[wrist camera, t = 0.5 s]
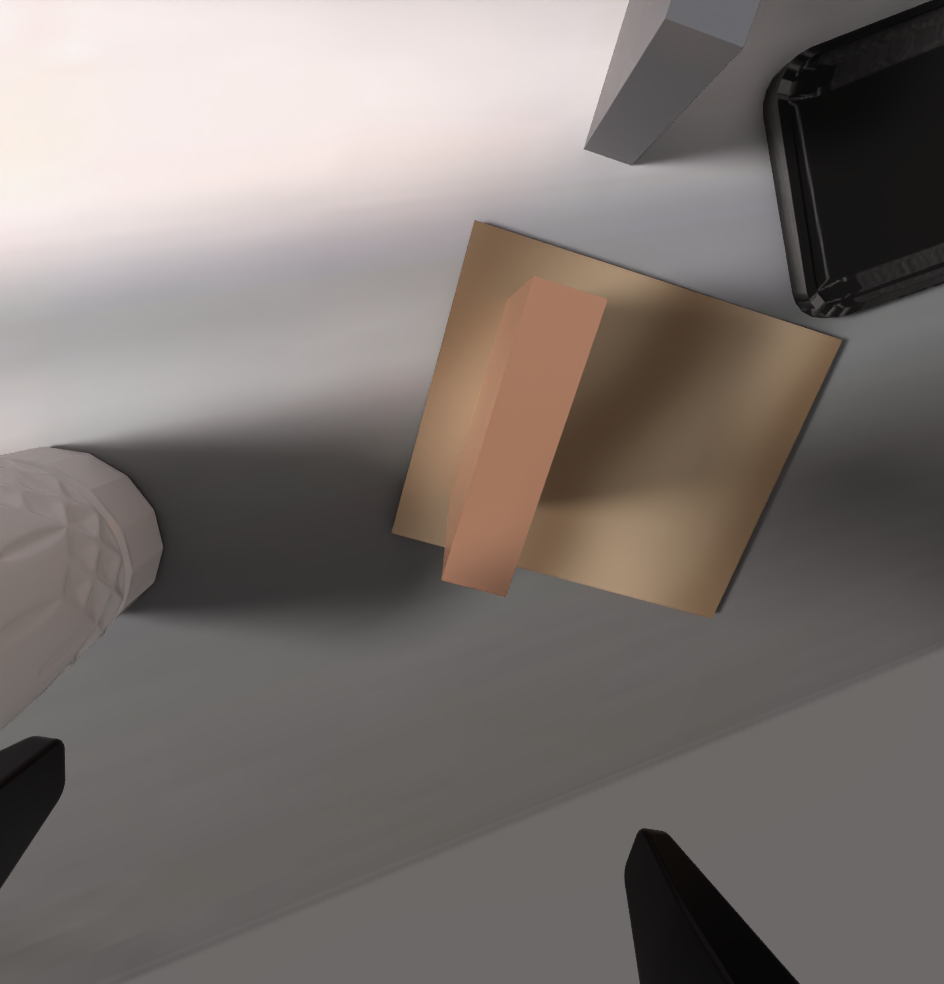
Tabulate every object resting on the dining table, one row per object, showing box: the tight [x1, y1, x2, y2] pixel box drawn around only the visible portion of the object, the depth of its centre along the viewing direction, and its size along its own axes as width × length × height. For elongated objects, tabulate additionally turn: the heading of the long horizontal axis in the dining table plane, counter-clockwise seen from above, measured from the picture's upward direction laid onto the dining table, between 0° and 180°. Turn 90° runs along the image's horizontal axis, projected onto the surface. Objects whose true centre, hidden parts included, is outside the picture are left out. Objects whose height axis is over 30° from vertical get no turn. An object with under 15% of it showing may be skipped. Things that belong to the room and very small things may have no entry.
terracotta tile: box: [442, 276, 608, 597], centre depth 15 cm, size 2×7×7 cm, turn 164°
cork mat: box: [392, 220, 842, 618], centre depth 19 cm, size 13×11×1 cm
